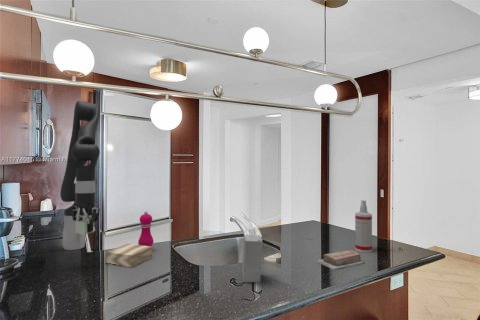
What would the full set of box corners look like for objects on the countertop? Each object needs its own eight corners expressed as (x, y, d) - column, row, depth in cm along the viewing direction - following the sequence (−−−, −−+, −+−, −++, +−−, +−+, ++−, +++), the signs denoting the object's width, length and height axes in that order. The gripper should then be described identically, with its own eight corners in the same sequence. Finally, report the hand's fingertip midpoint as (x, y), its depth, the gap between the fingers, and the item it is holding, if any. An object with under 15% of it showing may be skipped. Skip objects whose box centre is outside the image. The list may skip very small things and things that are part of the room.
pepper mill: (144, 254, 144) (144, 212, 144) (135, 251, 148) (135, 211, 148) (156, 250, 149) (156, 210, 149) (147, 248, 154) (147, 209, 154)
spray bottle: (352, 249, 152) (352, 200, 152) (360, 246, 156) (360, 199, 156) (366, 253, 146) (366, 201, 146) (374, 250, 150) (374, 200, 150)
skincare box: (241, 274, 118) (241, 234, 118) (259, 274, 119) (259, 234, 119) (243, 283, 110) (243, 240, 110) (262, 282, 110) (262, 239, 110)
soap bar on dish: (347, 247, 140) (364, 253, 131) (347, 257, 140) (364, 264, 131) (317, 252, 132) (334, 259, 123) (317, 263, 132) (334, 271, 123)
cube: (75, 233, 125) (75, 221, 125) (85, 230, 130) (85, 219, 130) (84, 234, 123) (84, 222, 123) (94, 231, 128) (94, 220, 128)
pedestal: (105, 263, 131) (105, 252, 131) (127, 254, 144) (128, 243, 144) (132, 267, 126) (132, 255, 126) (152, 257, 139) (152, 246, 139)
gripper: (65, 191, 126) (64, 231, 126) (91, 193, 121) (90, 235, 121) (80, 189, 133) (79, 228, 133) (105, 191, 128) (104, 231, 128)
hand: (84, 231), depth 127 cm, fingers closed on cube, 5 cm apart
